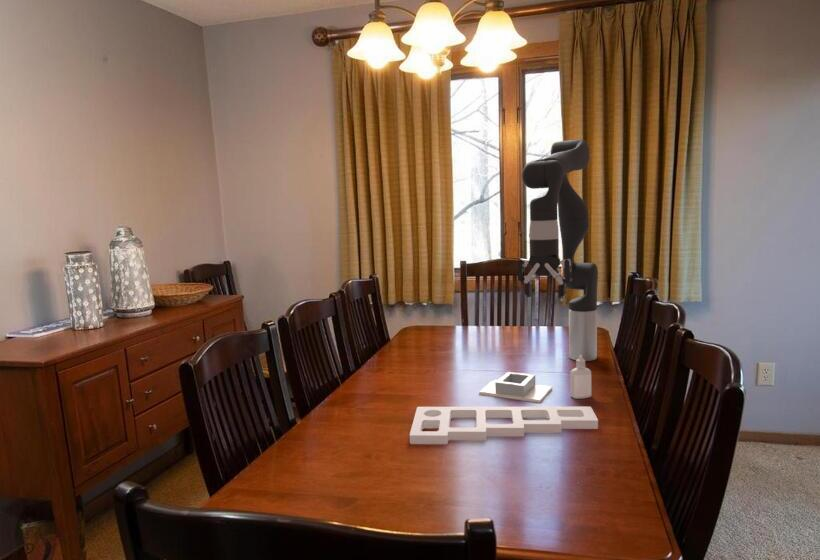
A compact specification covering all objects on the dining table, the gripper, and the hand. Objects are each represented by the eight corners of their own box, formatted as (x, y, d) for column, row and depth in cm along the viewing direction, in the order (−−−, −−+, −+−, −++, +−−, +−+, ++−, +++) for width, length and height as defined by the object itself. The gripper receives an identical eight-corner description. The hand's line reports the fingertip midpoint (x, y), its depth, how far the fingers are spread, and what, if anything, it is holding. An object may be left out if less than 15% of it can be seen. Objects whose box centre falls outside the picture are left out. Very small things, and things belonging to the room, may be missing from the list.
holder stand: (494, 381, 170) (494, 369, 170) (552, 389, 161) (551, 376, 160) (479, 394, 160) (478, 380, 159) (539, 402, 151) (539, 388, 150)
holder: (590, 416, 141) (590, 406, 141) (607, 447, 124) (607, 436, 123) (417, 416, 147) (417, 406, 147) (409, 446, 129) (409, 435, 129)
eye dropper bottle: (591, 400, 151) (591, 358, 149) (569, 398, 153) (569, 357, 151) (591, 394, 155) (591, 353, 153) (571, 393, 157) (570, 352, 155)
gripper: (574, 236, 145) (574, 296, 147) (522, 236, 152) (523, 293, 155) (567, 238, 139) (567, 301, 141) (513, 238, 146) (514, 298, 148)
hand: (544, 297), depth 148 cm, fingers open, 8 cm apart
